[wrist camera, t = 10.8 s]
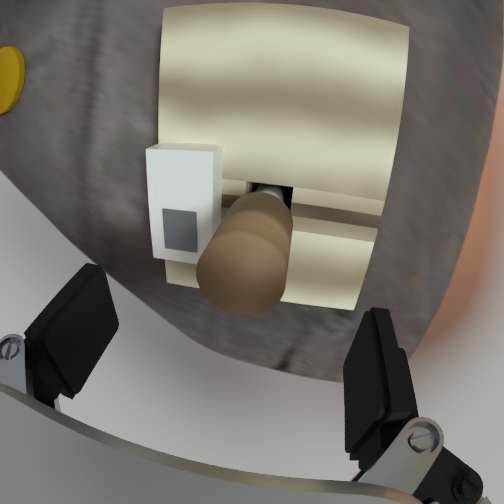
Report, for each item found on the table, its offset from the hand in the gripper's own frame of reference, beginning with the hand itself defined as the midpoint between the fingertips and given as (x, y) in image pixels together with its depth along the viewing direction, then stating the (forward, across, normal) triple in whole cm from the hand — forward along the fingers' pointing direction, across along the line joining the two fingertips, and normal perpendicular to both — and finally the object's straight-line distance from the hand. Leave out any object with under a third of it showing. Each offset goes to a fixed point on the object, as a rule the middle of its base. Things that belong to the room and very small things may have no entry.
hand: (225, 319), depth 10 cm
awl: (+15, 0, +1) cm, 15 cm away
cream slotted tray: (+15, 0, -2) cm, 15 cm away
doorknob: (+16, +30, -11) cm, 36 cm away
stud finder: (+12, +5, +1) cm, 13 cm away
